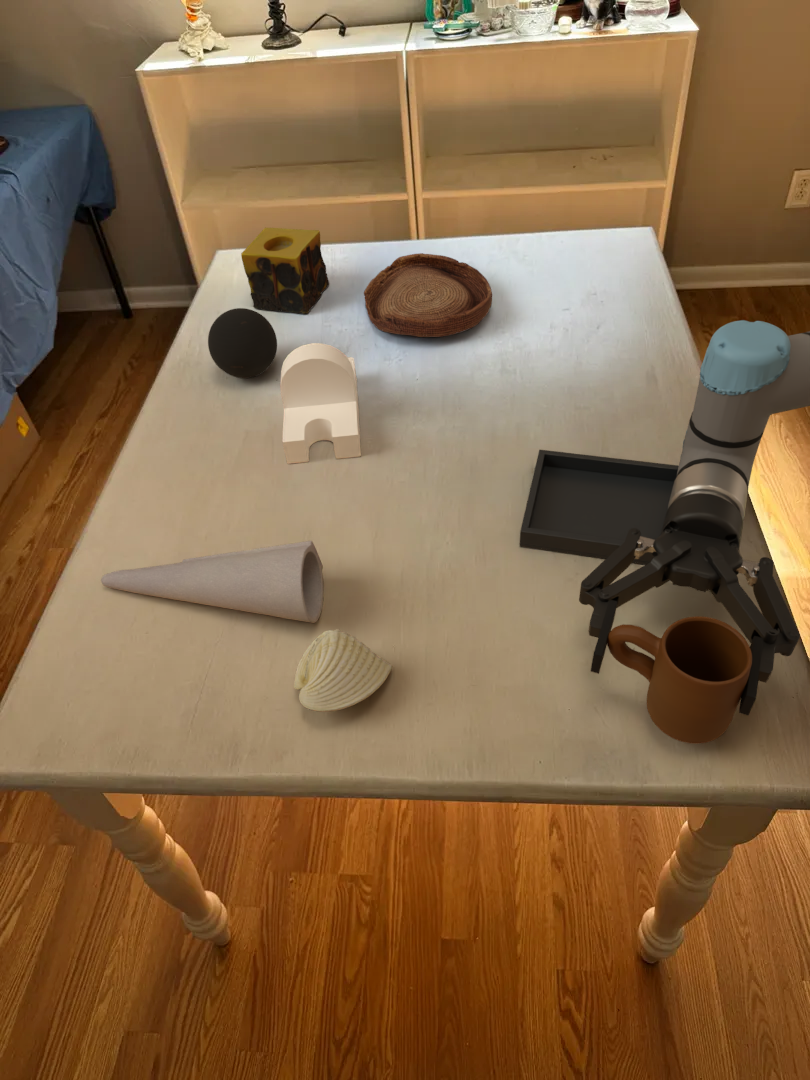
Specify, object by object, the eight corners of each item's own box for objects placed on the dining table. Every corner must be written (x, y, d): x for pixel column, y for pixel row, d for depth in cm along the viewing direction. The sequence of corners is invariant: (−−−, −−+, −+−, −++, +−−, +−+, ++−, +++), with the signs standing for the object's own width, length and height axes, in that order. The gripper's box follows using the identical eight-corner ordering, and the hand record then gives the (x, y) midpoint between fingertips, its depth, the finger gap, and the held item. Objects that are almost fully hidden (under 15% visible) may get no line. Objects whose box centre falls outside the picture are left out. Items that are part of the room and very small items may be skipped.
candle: (330, 285, 136) (322, 229, 129) (308, 316, 129) (298, 258, 122) (277, 280, 138) (265, 225, 131) (252, 310, 132) (239, 253, 125)
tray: (687, 571, 86) (691, 555, 85) (519, 546, 91) (520, 531, 89) (690, 483, 96) (694, 467, 94) (538, 464, 100) (539, 449, 98)
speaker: (204, 374, 120) (186, 315, 112) (257, 346, 124) (243, 288, 117) (242, 399, 114) (226, 340, 107) (295, 369, 119) (283, 310, 112)
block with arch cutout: (360, 456, 104) (351, 387, 96) (287, 464, 104) (271, 395, 96) (356, 378, 116) (347, 311, 108) (291, 384, 116) (277, 318, 108)
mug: (588, 713, 73) (597, 651, 67) (611, 652, 78) (622, 590, 71) (721, 759, 69) (746, 699, 62) (737, 692, 74) (761, 629, 67)
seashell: (272, 661, 79) (325, 604, 79) (332, 702, 83) (383, 648, 83) (286, 705, 72) (344, 642, 72) (350, 747, 76) (406, 688, 76)
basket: (347, 295, 133) (343, 268, 129) (454, 265, 137) (453, 238, 134) (397, 362, 118) (395, 333, 115) (515, 326, 123) (516, 298, 119)
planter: (62, 613, 83) (296, 592, 78) (88, 551, 89) (308, 529, 84) (97, 654, 88) (317, 637, 84) (120, 593, 94) (327, 575, 90)
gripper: (820, 569, 80) (808, 749, 67) (584, 517, 88) (531, 670, 74) (844, 517, 75) (836, 701, 61) (591, 466, 82) (535, 621, 69)
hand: (669, 684), depth 68 cm, fingers closed on mug, 12 cm apart
